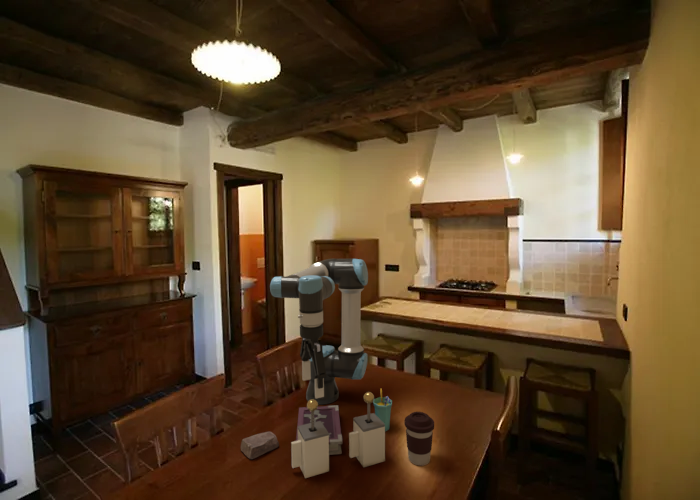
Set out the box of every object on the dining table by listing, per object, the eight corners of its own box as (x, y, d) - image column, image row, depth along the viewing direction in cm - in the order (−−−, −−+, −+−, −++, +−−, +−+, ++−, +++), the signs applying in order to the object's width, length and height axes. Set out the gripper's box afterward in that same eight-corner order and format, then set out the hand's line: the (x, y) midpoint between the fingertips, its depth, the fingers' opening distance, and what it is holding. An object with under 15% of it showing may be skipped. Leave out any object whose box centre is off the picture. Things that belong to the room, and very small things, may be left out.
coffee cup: (428, 473, 114) (428, 427, 113) (399, 462, 119) (399, 419, 118) (438, 456, 122) (438, 413, 121) (411, 446, 128) (411, 406, 127)
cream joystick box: (289, 465, 118) (288, 428, 117) (320, 456, 122) (320, 420, 122) (295, 481, 111) (294, 441, 110) (328, 471, 115) (328, 432, 114)
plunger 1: (304, 460, 118) (303, 398, 117) (317, 456, 120) (316, 395, 119) (308, 468, 114) (307, 404, 113) (322, 464, 116) (321, 401, 115)
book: (342, 455, 124) (342, 441, 124) (295, 458, 123) (295, 444, 122) (338, 416, 149) (338, 405, 149) (299, 418, 148) (299, 407, 147)
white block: (345, 455, 123) (345, 419, 122) (373, 447, 127) (373, 412, 127) (355, 470, 116) (354, 432, 115) (384, 460, 120) (384, 424, 119)
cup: (399, 437, 133) (399, 398, 133) (380, 440, 131) (380, 401, 131) (386, 418, 147) (386, 382, 146) (368, 421, 145) (368, 385, 144)
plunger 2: (360, 450, 123) (359, 390, 122) (371, 447, 125) (371, 388, 124) (365, 458, 119) (365, 396, 118) (378, 454, 121) (377, 394, 120)
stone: (268, 436, 135) (268, 424, 134) (281, 448, 128) (281, 435, 128) (238, 450, 127) (238, 437, 126) (250, 462, 120) (250, 449, 120)
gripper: (290, 316, 124) (291, 375, 126) (312, 336, 101) (313, 408, 103) (310, 313, 127) (312, 371, 129) (336, 333, 104) (337, 402, 106)
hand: (312, 388), depth 116 cm, fingers open, 13 cm apart
